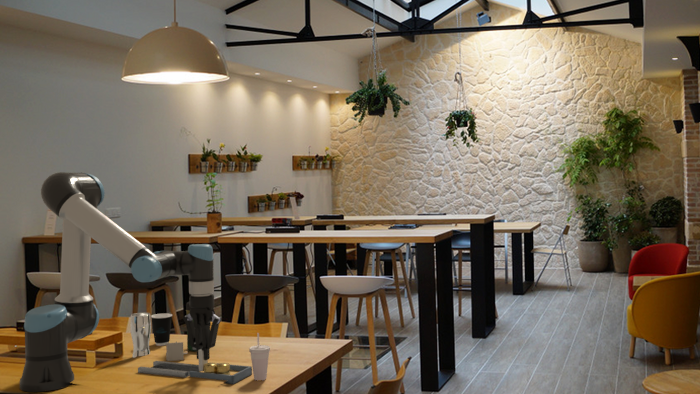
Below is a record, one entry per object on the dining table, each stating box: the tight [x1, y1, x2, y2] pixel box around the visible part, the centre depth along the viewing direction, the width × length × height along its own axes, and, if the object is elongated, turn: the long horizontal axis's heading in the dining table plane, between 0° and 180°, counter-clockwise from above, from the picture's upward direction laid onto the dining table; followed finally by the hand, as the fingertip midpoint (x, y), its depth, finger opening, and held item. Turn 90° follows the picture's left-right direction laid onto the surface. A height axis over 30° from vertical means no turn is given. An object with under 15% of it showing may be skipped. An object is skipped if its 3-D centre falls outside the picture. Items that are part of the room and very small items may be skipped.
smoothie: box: [248, 332, 271, 381], centre depth 204 cm, size 6×6×14 cm
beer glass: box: [129, 312, 152, 359], centre depth 235 cm, size 7×7×15 cm
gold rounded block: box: [203, 362, 217, 374], centre depth 206 cm, size 4×4×4 cm
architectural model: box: [165, 341, 189, 362], centre depth 226 cm, size 3×7×7 cm, turn 101°
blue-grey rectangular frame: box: [189, 362, 253, 385], centre depth 207 cm, size 11×16×2 cm
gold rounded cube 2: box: [216, 362, 231, 375], centre depth 205 cm, size 4×4×4 cm
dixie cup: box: [150, 312, 173, 347], centre depth 253 cm, size 8×8×11 cm
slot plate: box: [137, 360, 200, 379], centre depth 211 cm, size 9×18×2 cm, turn 68°
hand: (203, 369), depth 207 cm, fingers closed
